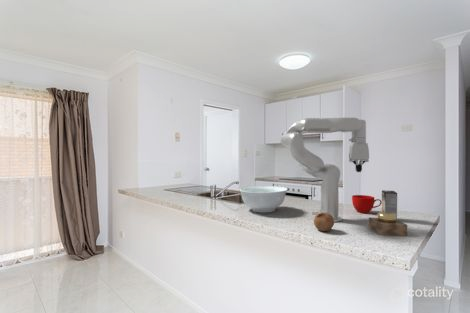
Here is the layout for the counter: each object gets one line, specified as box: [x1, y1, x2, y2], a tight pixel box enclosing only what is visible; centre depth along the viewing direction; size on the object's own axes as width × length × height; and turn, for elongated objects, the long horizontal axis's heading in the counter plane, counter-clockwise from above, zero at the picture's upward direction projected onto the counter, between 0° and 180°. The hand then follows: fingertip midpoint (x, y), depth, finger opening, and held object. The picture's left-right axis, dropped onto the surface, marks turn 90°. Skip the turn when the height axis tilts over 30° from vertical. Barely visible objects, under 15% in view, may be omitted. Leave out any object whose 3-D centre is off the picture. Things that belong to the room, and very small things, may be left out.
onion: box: [313, 213, 335, 232], centre depth 124 cm, size 10×9×10 cm
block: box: [368, 217, 408, 237], centre depth 123 cm, size 12×12×5 cm
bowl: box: [239, 185, 288, 214], centre depth 169 cm, size 32×32×15 cm
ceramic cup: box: [351, 194, 382, 214], centre depth 163 cm, size 13×17×10 cm
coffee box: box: [381, 189, 398, 220], centre depth 145 cm, size 9×6×16 cm
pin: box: [377, 211, 396, 223], centre depth 123 cm, size 8×8×8 cm
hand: (358, 171), depth 149 cm, fingers closed
